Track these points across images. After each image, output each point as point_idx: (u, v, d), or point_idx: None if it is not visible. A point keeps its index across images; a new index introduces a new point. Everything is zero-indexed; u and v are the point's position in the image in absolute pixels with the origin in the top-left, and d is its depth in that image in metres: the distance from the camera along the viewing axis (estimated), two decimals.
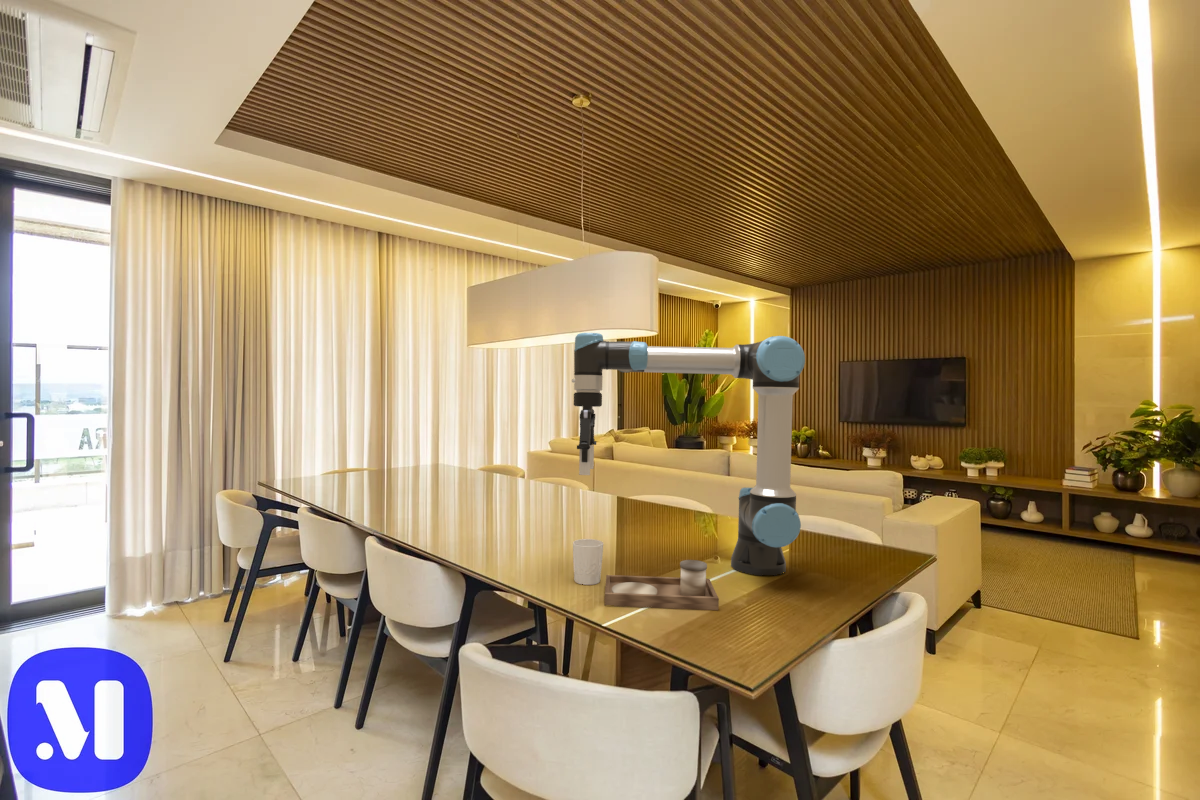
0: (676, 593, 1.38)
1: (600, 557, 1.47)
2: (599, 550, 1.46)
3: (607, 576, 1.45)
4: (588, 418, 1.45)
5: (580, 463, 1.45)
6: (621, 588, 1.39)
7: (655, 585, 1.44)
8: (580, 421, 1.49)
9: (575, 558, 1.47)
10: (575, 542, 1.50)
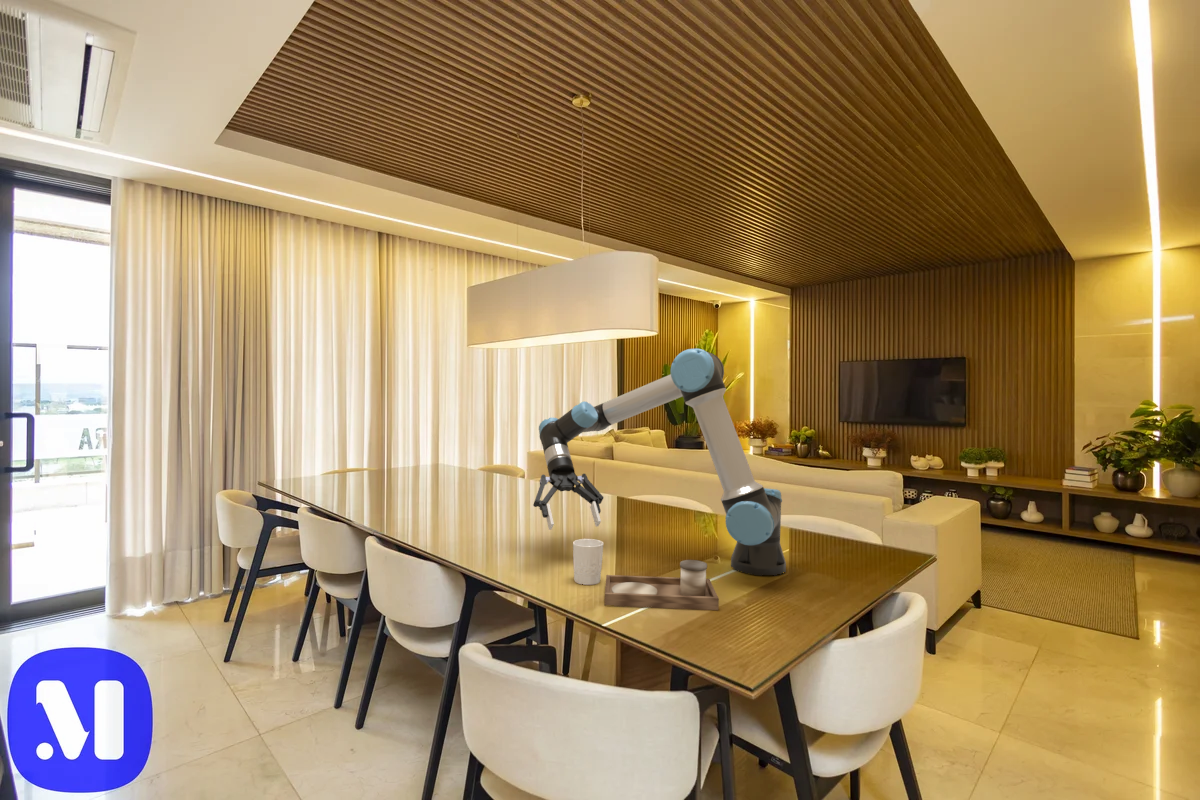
0: (676, 593, 1.38)
1: (600, 557, 1.47)
2: (599, 550, 1.46)
3: (607, 576, 1.45)
4: (541, 481, 1.62)
5: (547, 519, 1.56)
6: (621, 588, 1.39)
7: (655, 585, 1.44)
8: None
9: (575, 558, 1.47)
10: (575, 542, 1.50)
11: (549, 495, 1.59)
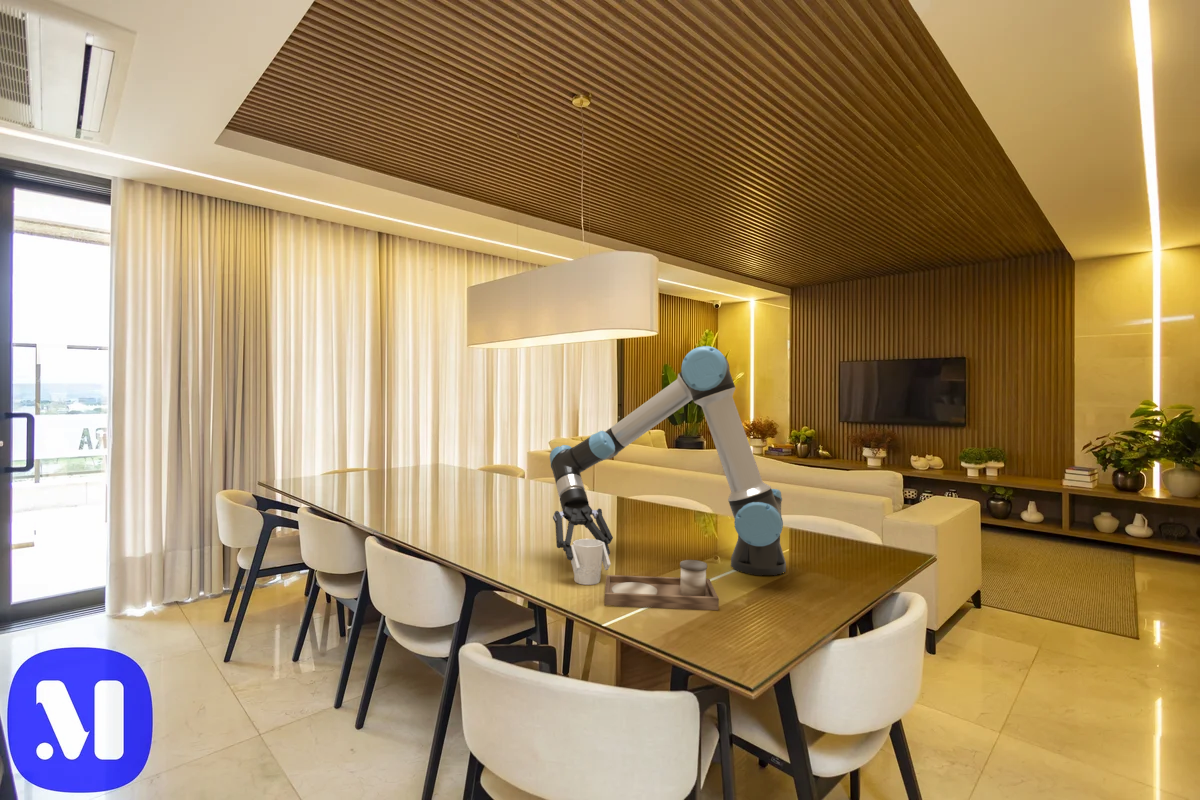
0: (676, 593, 1.38)
1: (600, 556, 1.47)
2: (599, 550, 1.46)
3: (607, 576, 1.45)
4: (556, 518, 1.52)
5: (571, 562, 1.47)
6: (621, 588, 1.39)
7: (655, 585, 1.44)
8: (568, 524, 1.55)
9: None
10: (575, 542, 1.50)
11: (570, 534, 1.50)
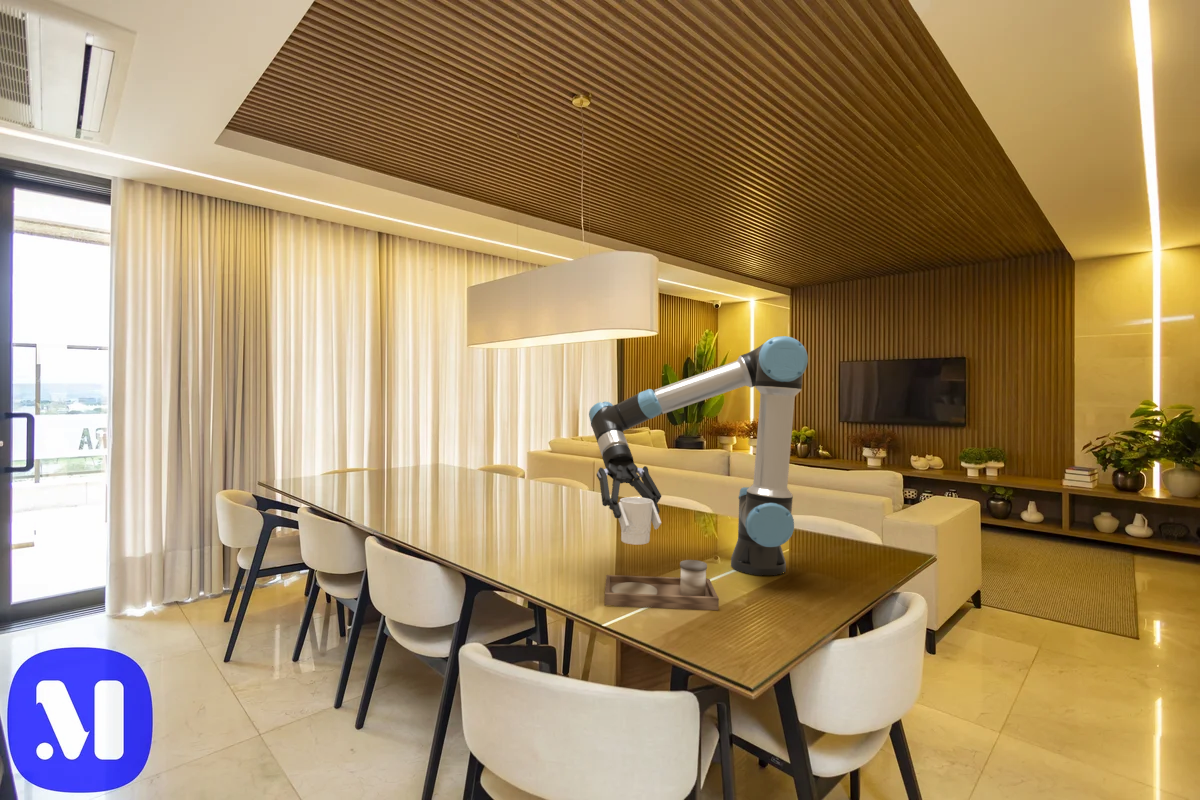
0: (676, 593, 1.38)
1: (649, 514, 1.36)
2: (649, 507, 1.36)
3: (607, 576, 1.45)
4: (601, 475, 1.42)
5: (619, 520, 1.36)
6: (621, 588, 1.39)
7: (655, 585, 1.44)
8: None
9: None
10: (622, 500, 1.40)
11: (617, 491, 1.39)
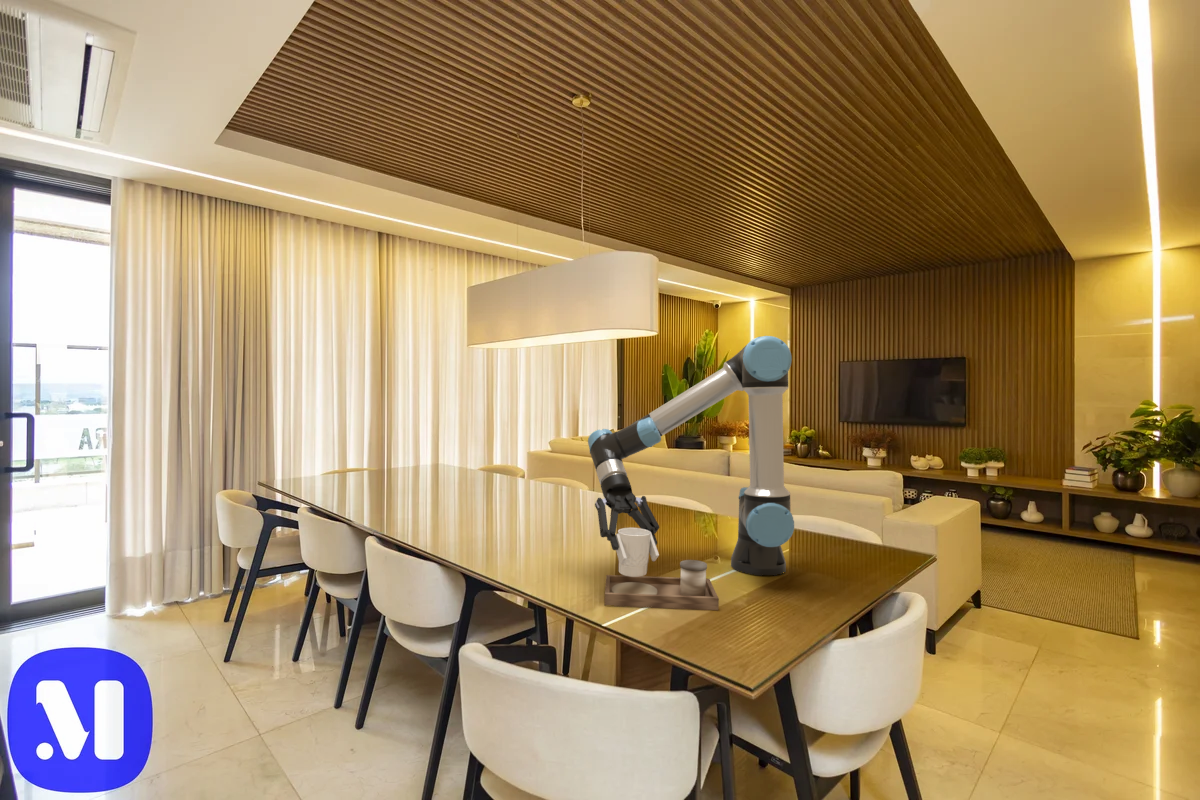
0: (676, 593, 1.38)
1: (647, 547, 1.37)
2: (646, 540, 1.36)
3: (607, 576, 1.45)
4: (599, 506, 1.42)
5: (617, 552, 1.36)
6: (621, 588, 1.39)
7: (655, 585, 1.44)
8: (611, 512, 1.45)
9: None
10: (620, 531, 1.40)
11: (615, 522, 1.39)
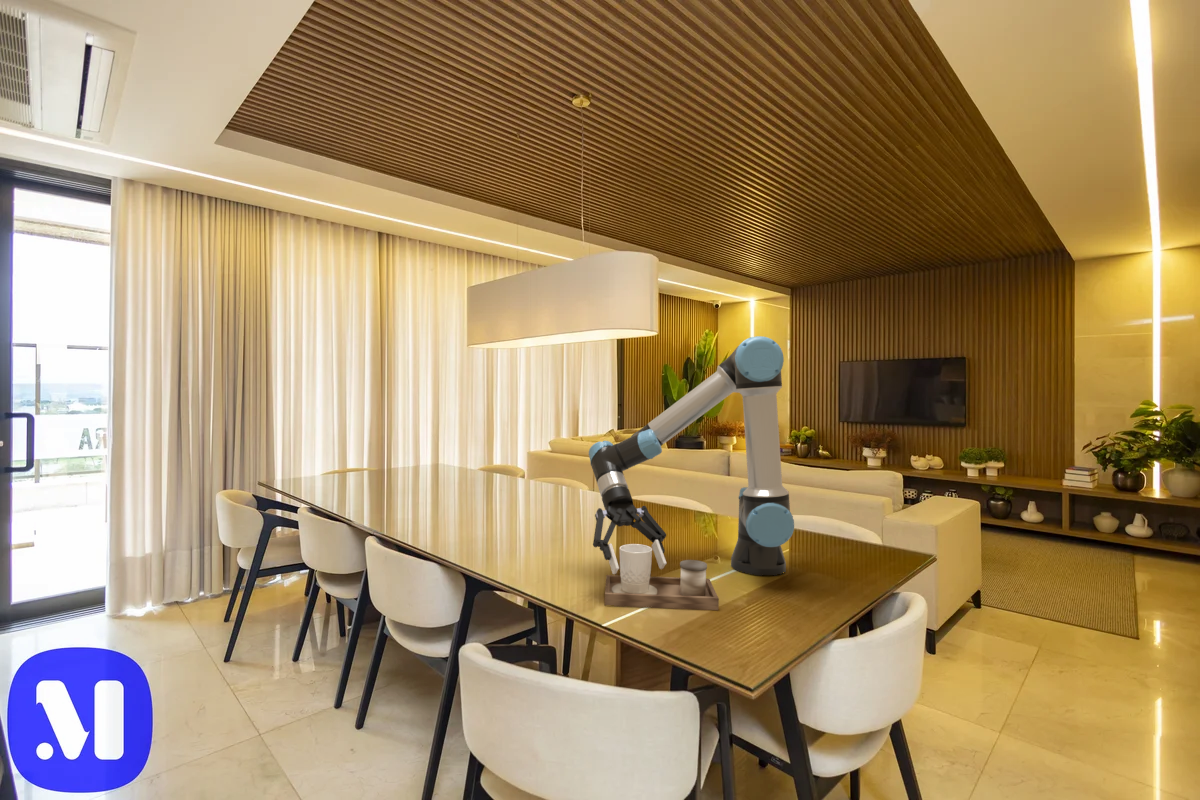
0: (676, 593, 1.38)
1: (649, 563, 1.37)
2: (648, 556, 1.36)
3: (607, 576, 1.45)
4: (598, 516, 1.42)
5: (609, 562, 1.36)
6: None
7: (655, 585, 1.44)
8: (610, 523, 1.45)
9: (623, 565, 1.37)
10: (621, 548, 1.40)
11: (610, 533, 1.39)
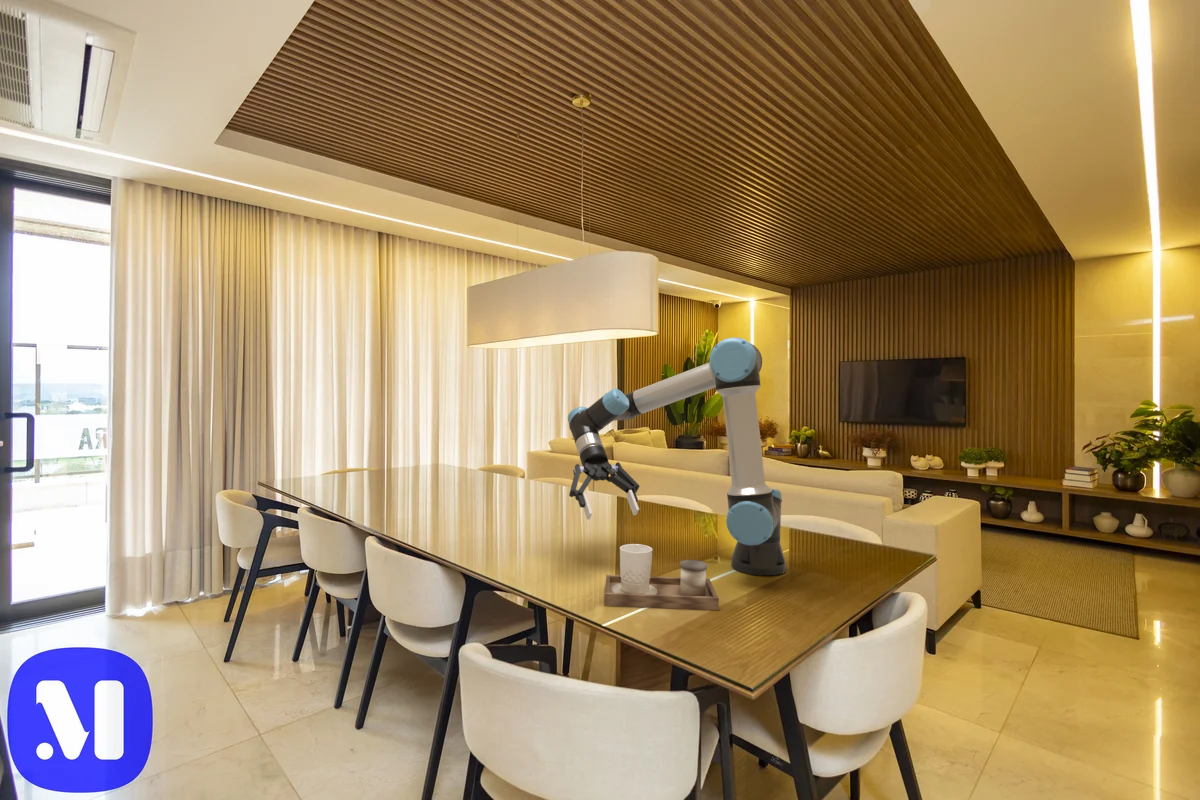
0: (676, 593, 1.38)
1: (649, 563, 1.37)
2: (648, 557, 1.36)
3: (607, 576, 1.45)
4: (575, 470, 1.58)
5: (584, 509, 1.51)
6: None
7: (655, 585, 1.44)
8: None
9: (623, 565, 1.37)
10: (622, 548, 1.40)
11: (585, 484, 1.55)
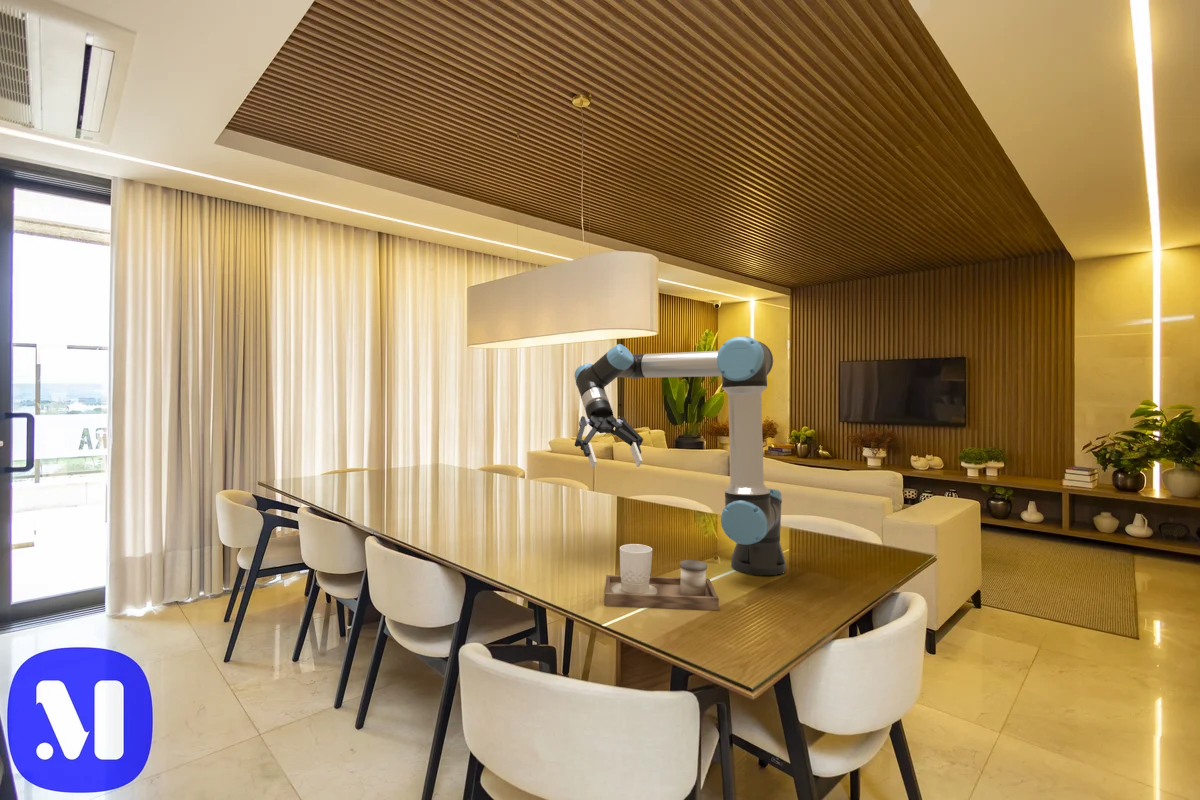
0: (676, 593, 1.38)
1: (649, 563, 1.37)
2: (648, 557, 1.36)
3: (607, 576, 1.45)
4: (581, 422, 1.61)
5: (588, 458, 1.55)
6: None
7: (655, 585, 1.44)
8: None
9: (623, 565, 1.37)
10: (621, 548, 1.40)
11: (590, 435, 1.58)
